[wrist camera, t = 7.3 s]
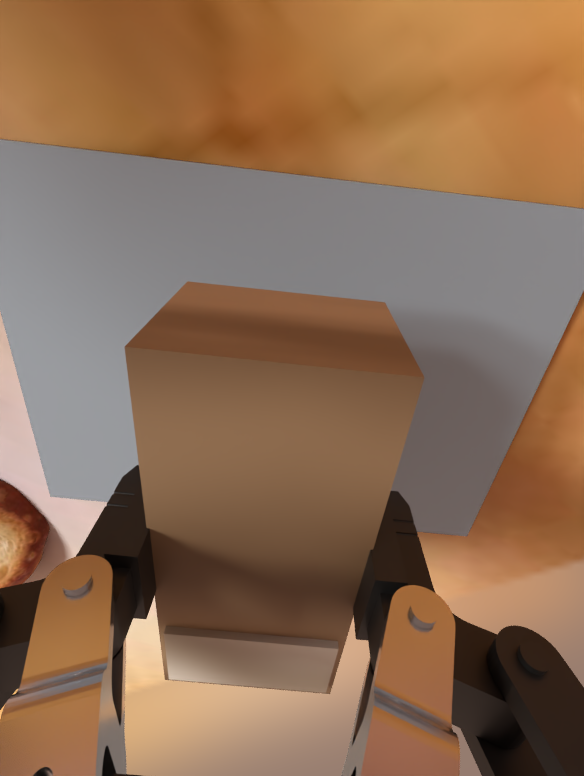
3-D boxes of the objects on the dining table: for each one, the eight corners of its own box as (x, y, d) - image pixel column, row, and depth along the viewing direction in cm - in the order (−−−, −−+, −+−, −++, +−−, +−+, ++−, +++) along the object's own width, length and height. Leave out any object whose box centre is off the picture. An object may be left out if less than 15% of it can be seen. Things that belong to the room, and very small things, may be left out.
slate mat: (56, 488, 21) (50, 496, 21) (-34, 134, 13) (-48, 133, 13) (463, 527, 22) (466, 536, 21) (608, 211, 14) (620, 213, 13)
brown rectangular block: (187, 281, 10) (119, 352, 6) (384, 302, 10) (427, 383, 7) (196, 563, 16) (163, 687, 12) (325, 575, 16) (330, 701, 12)
